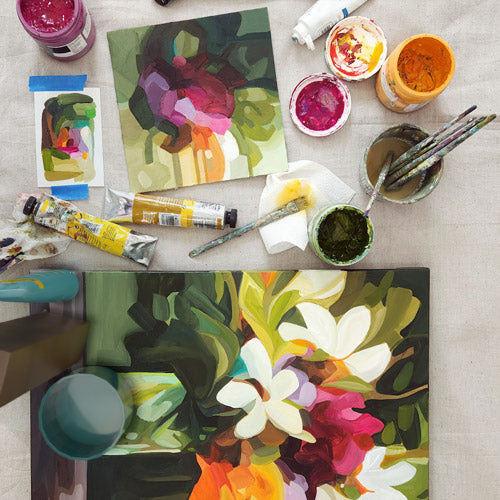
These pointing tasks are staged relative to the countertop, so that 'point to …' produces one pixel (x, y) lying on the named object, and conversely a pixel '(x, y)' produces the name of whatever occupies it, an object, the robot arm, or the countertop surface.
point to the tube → (40, 287)
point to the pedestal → (37, 351)
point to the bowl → (86, 412)
